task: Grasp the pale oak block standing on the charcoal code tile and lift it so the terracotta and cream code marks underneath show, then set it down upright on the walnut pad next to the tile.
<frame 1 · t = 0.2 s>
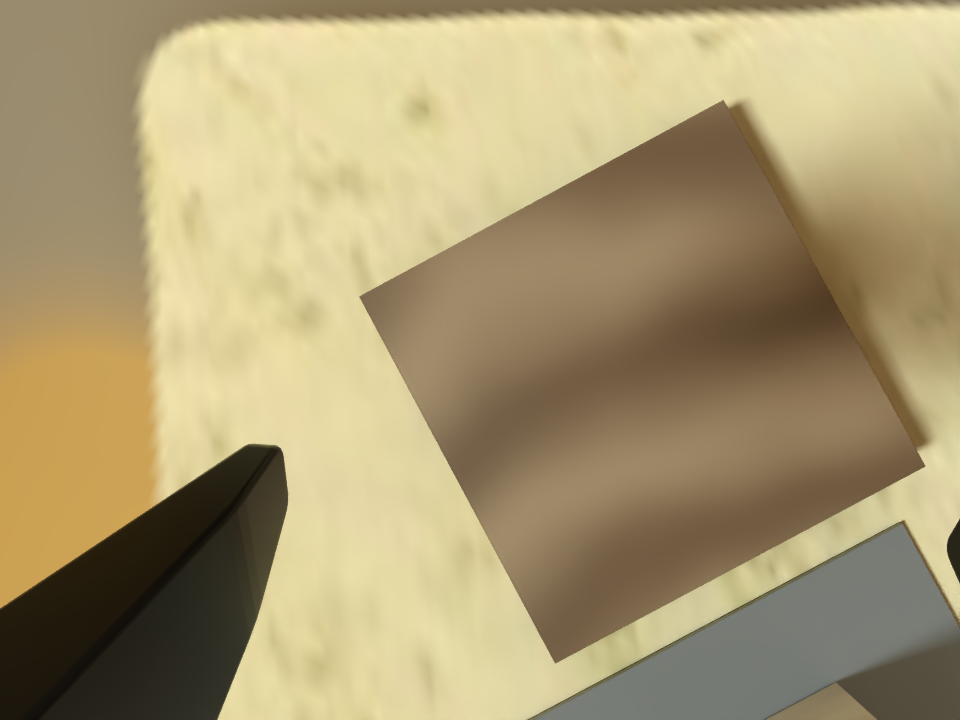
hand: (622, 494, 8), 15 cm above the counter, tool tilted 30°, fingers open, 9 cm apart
walnut pad: (629, 379, 23), on the counter
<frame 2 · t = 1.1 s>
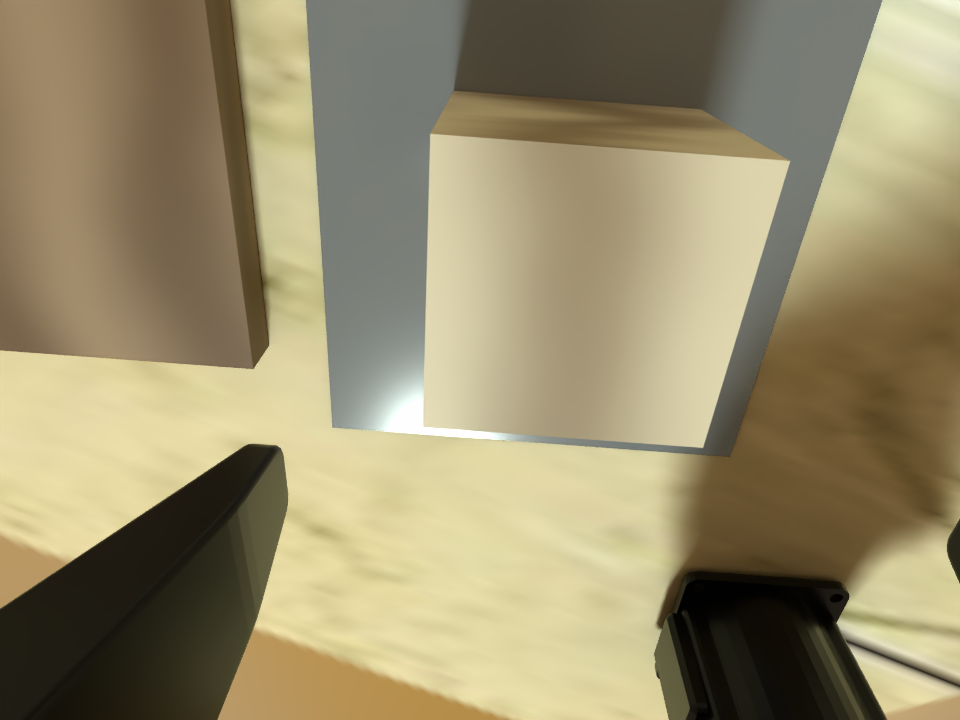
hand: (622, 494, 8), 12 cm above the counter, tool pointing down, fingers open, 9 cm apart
code tile: (560, 218, 18), on the counter
oak block: (561, 220, 18), resting on code tile
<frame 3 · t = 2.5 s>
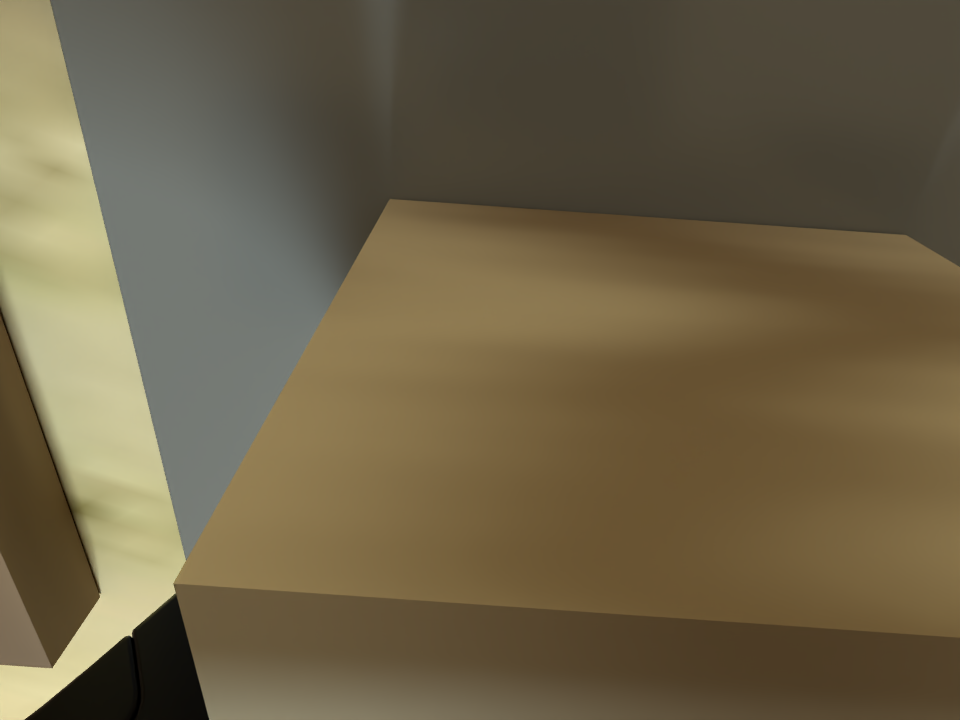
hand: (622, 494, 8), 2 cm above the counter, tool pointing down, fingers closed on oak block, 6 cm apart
code tile: (604, 417, 10), on the counter
oak block: (606, 426, 10), resting on code tile, touching gripper
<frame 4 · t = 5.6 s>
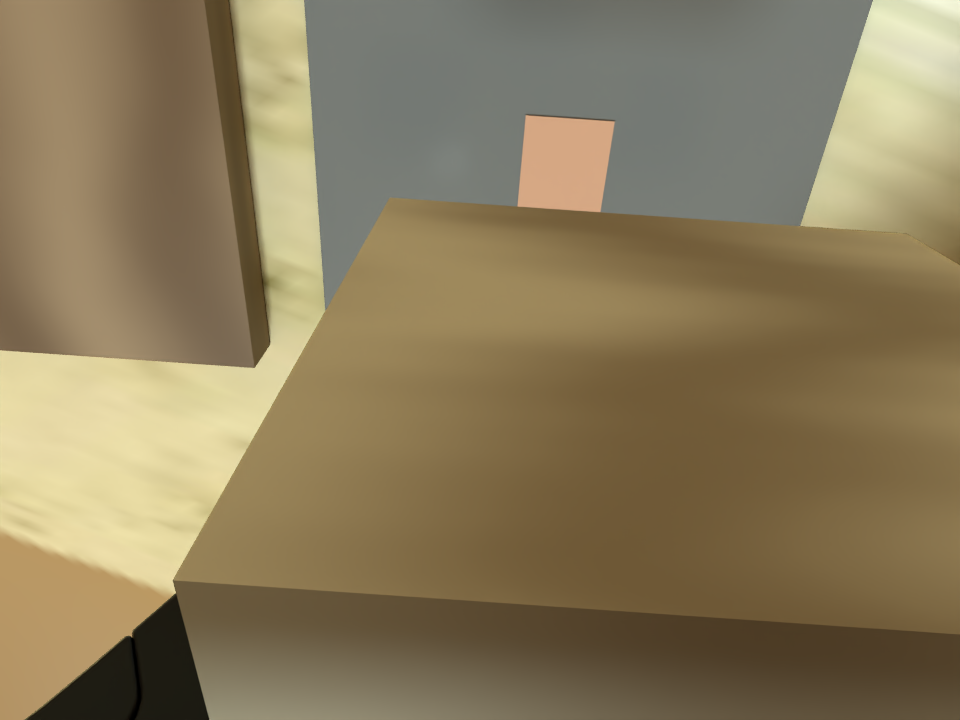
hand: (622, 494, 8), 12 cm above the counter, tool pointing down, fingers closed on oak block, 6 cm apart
code tile: (557, 217, 19), on the counter
oak block: (606, 425, 10), point 10 cm above the counter, touching gripper
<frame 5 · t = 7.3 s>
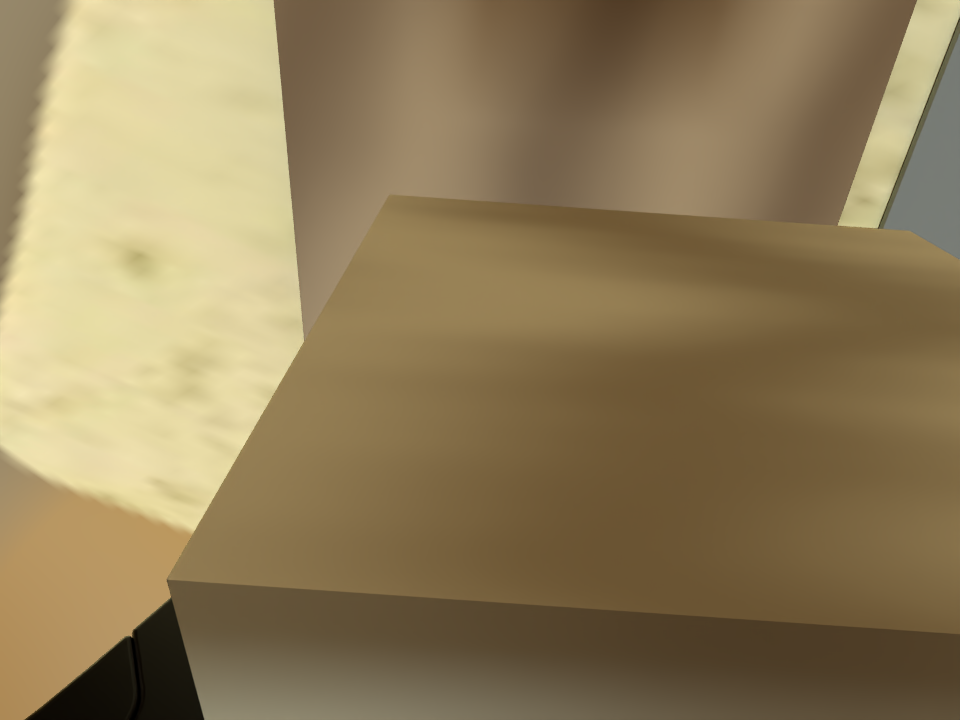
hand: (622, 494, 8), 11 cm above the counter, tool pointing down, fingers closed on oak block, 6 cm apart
walnut pad: (555, 224, 18), on the counter
oak block: (607, 424, 10), point 10 cm above the counter, touching gripper
when the fingers open (4 cm above the counter, at t = 8.9 s): oak block drops 2 cm, resting on walnut pad.
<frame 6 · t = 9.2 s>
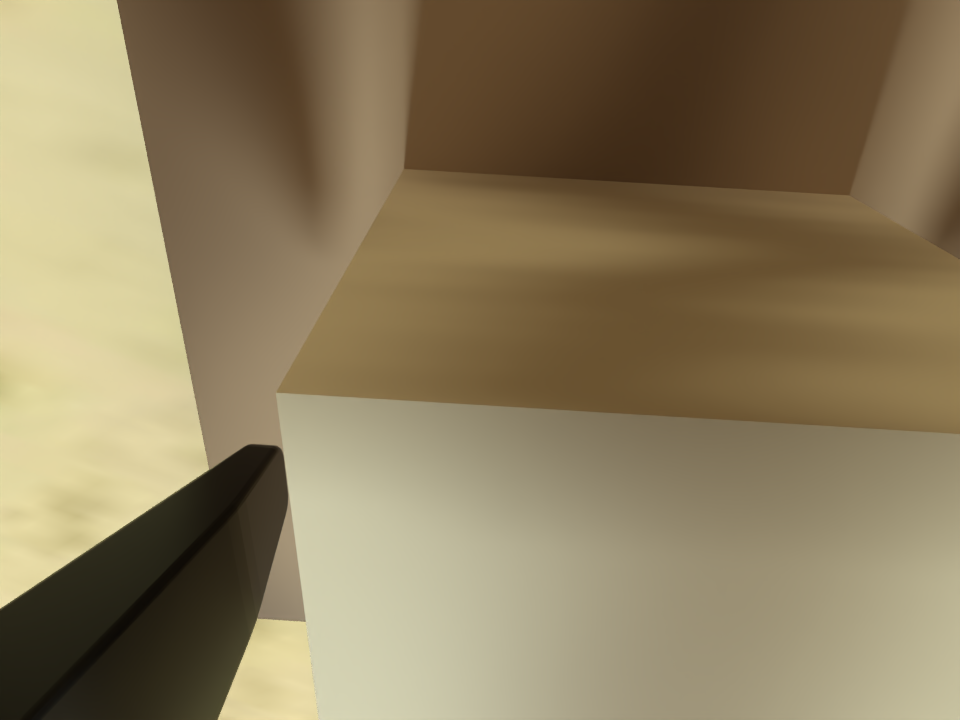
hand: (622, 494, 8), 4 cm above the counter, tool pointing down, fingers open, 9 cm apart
walnut pad: (582, 334, 12), on the counter
oak block: (594, 372, 11), point 1 cm above the counter, touching walnut pad
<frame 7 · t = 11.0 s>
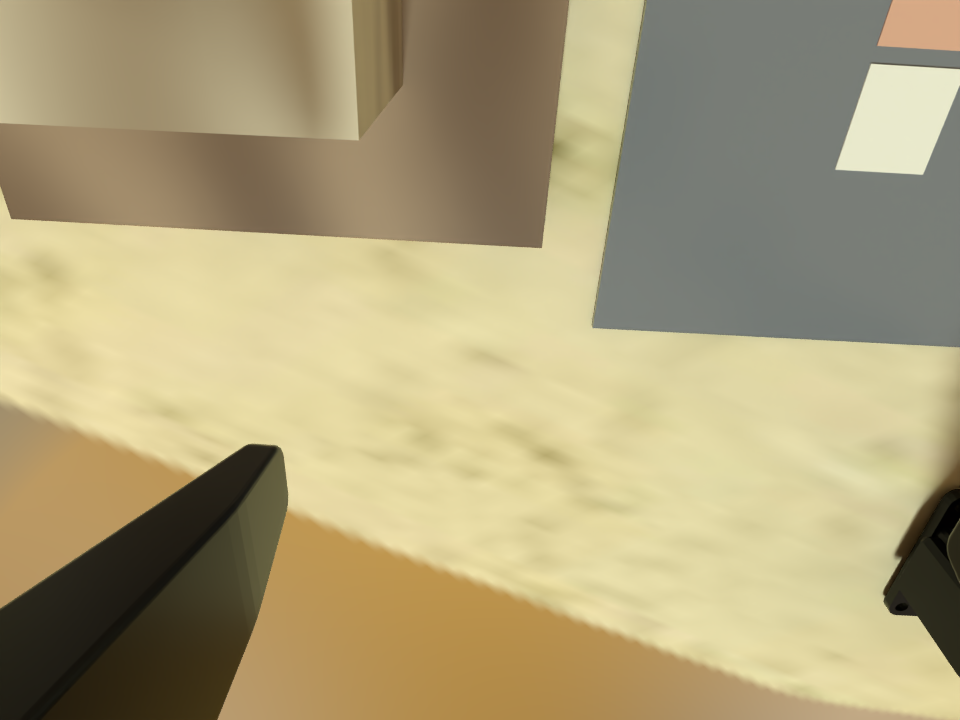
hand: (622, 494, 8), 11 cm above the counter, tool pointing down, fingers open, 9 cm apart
code tile: (916, 56, 16), on the counter
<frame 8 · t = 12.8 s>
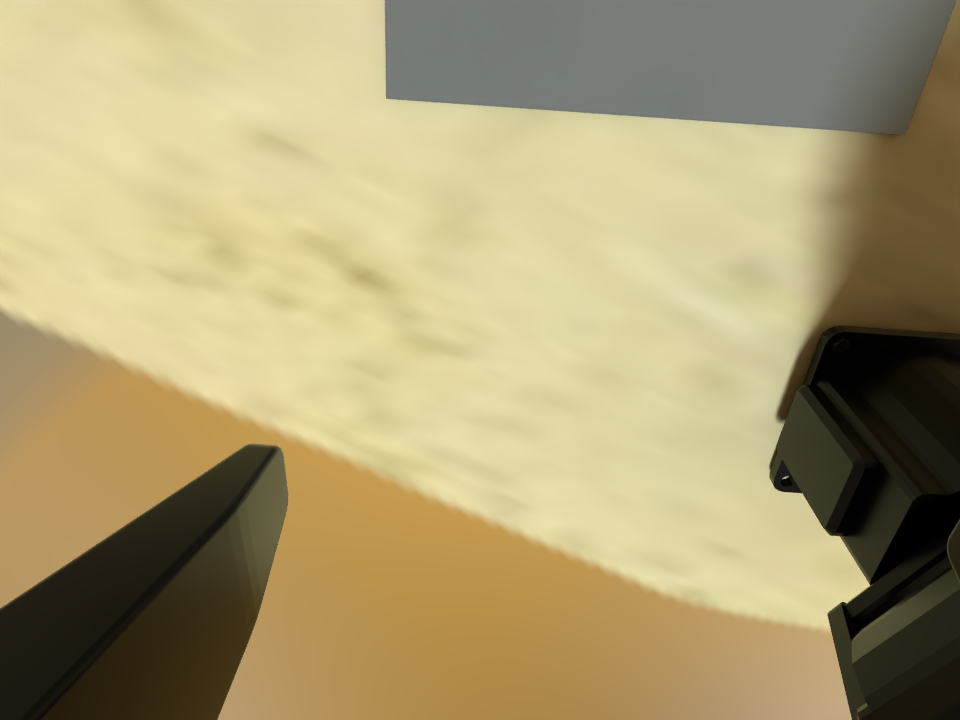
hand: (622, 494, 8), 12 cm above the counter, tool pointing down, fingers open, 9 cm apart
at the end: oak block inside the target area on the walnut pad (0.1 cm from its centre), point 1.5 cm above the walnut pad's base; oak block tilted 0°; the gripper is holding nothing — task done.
